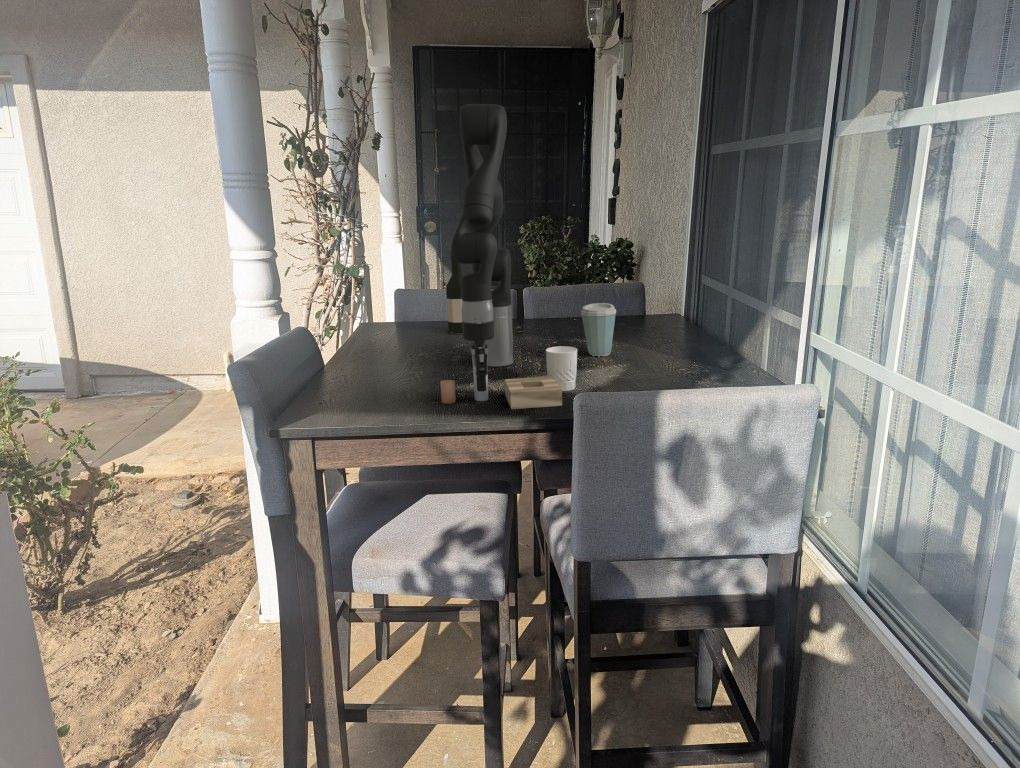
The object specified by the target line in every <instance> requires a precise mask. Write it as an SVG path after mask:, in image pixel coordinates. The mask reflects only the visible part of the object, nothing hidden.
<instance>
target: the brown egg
mask: <svg viewBox="0 0 1020 768" xmlns="http://www.w3.org/2000/svg"><path fill="white" fill-rule="evenodd" d="M440 394H441V395H440V396H441V403H442V404H447V405H449V404H454V403H456V402H457V401H456V383H455V380H454V379H444V380H441V381H440Z"/></svg>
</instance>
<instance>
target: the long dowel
mask: <svg viewBox="0 0 1020 768" xmlns="http://www.w3.org/2000/svg"><path fill="white" fill-rule="evenodd" d="M475 361H476V359H475ZM479 370H484V368H479ZM472 373H473V391H474V393H473V394H474V401H476V402H485V401H488V400H490V399H489V383H488V382H489V380H488V377H489V376H488V374H487V375H486V391H480V392H479V391H477V378H476V375H475V373H476V367H474V366H473V365H472Z"/></svg>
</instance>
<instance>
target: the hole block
mask: <svg viewBox="0 0 1020 768" xmlns="http://www.w3.org/2000/svg"><path fill="white" fill-rule="evenodd" d="M504 396H505V398H506V400H507V403H508V405H509V409H510V410H519V409H531V408H533V409H534V408H535V409H537V408H548V407H550V408H551V407H561V406H563V391H562V388H561V387H560V386H559V384H558V383H557V382H556V380H555V379H554V378H553V376H551V377H548V376H539V377H536V376H535V377H525V378H524V377H523V378H510V379H509V378H507V379H504Z"/></svg>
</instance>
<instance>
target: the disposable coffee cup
mask: <svg viewBox="0 0 1020 768" xmlns="http://www.w3.org/2000/svg"><path fill="white" fill-rule="evenodd" d="M616 313H617V309H616V308H615V305H613V304H611V303H608V302H597V303H596V302H595V303H589V304H585V305H584V306H582V309H580V315H581V319H582V324H583V330H584V336H585V340H586V341H585V342H586V347H587V352H588V355H589V354H590V355H592V356H591V357H594V356H598V358H601V357H600V356H602V357H607V356H609V355H611V352H612V347H613V338H614V330H615V321H616ZM590 355H589V356H590Z"/></svg>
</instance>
